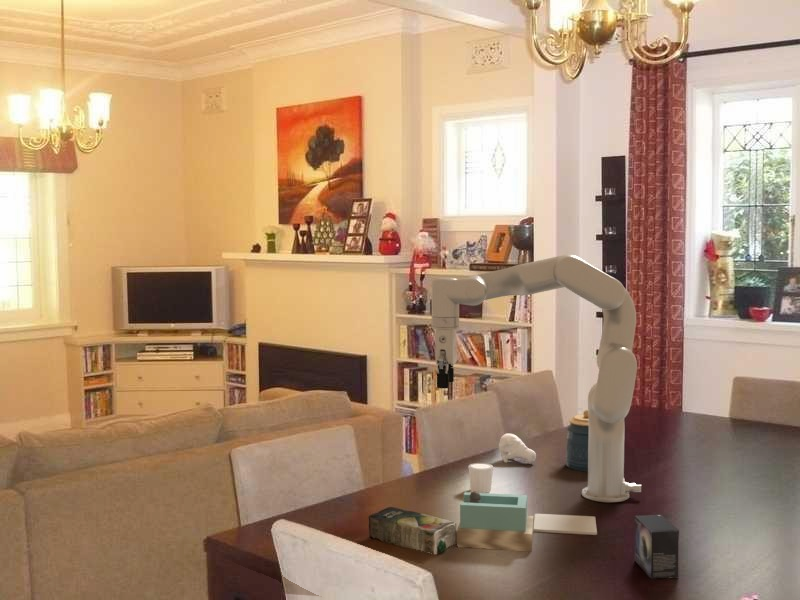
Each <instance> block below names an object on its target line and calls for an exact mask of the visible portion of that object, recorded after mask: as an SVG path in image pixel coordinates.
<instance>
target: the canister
mask: <svg viewBox="0 0 800 600" xmlns="http://www.w3.org/2000/svg"><path fill="white" fill-rule="evenodd" d="M568 423H569V425H567V426H566V428H565V429H566V431H567V436H566V437H565V440H566V446H565V447H566V449H565V450H566V451H565V452H566V454H565V455H566V457H565V462H566V466H567V468H569V469H571V470H575V471H578V470H579V471H580V472H588V439H589V419H588V409H584V411H583V414H576V415H574V416H573V417H571V418H569V419H568ZM579 471H578V472H579Z"/></svg>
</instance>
